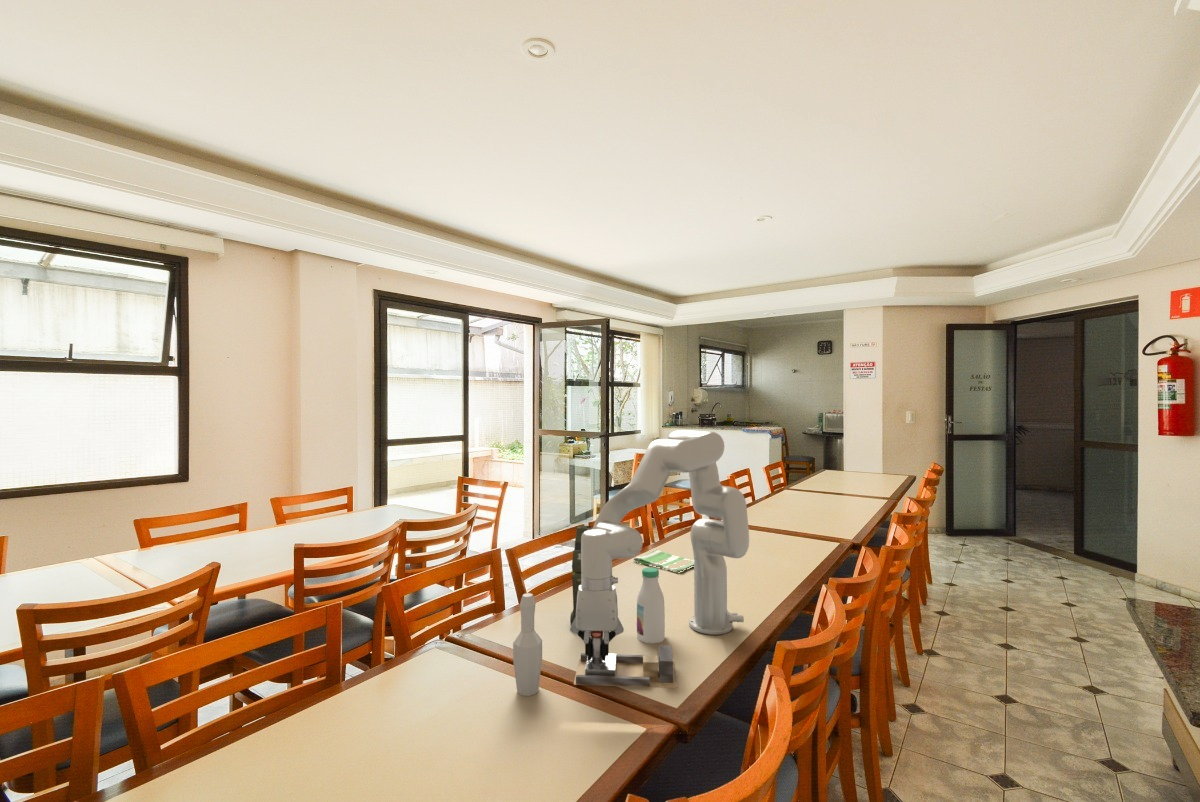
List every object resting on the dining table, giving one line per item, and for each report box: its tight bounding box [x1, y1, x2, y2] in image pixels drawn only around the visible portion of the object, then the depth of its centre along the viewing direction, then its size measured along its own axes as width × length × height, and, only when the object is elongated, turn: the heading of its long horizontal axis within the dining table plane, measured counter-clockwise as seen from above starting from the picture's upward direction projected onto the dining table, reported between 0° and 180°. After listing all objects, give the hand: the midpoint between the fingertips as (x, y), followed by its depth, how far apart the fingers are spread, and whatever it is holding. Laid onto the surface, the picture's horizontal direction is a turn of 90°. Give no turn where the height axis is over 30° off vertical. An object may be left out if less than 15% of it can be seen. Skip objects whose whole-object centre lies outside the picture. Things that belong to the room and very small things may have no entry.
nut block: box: [642, 654, 659, 677], centre depth 127 cm, size 4×4×4 cm
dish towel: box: [633, 549, 694, 573], centre depth 218 cm, size 18×23×3 cm
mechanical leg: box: [570, 525, 593, 626], centre depth 160 cm, size 14×7×30 cm, turn 168°
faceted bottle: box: [512, 592, 543, 697], centre depth 122 cm, size 6×6×22 cm
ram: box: [585, 631, 617, 676], centre depth 128 cm, size 7×8×10 cm
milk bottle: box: [636, 566, 666, 644], centre depth 147 cm, size 8×8×20 cm
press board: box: [573, 644, 679, 689], centre depth 127 cm, size 24×12×6 cm, turn 86°
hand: (596, 657), depth 128 cm, fingers closed on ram, 2 cm apart
